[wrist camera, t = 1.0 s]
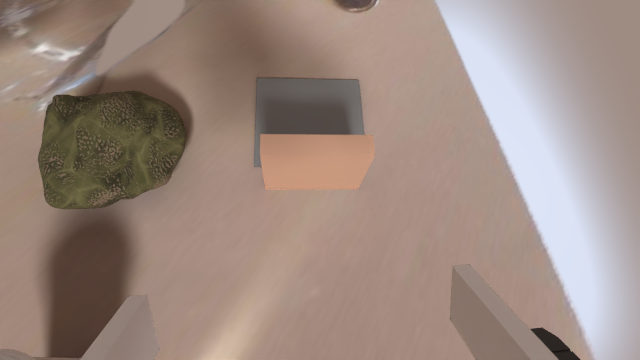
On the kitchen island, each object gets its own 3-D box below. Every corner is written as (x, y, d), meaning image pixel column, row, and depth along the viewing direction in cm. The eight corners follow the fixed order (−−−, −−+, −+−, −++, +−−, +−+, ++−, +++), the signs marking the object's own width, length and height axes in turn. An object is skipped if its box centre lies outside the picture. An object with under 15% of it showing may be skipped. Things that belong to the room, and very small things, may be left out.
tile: (357, 188, 46) (375, 154, 37) (265, 189, 45) (259, 154, 36) (356, 171, 47) (372, 134, 38) (265, 172, 46) (260, 133, 37)
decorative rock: (180, 222, 43) (150, 193, 33) (43, 215, 41) (-26, 183, 32) (200, 117, 48) (179, 68, 39) (80, 109, 47) (30, 56, 38)
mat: (366, 166, 47) (367, 165, 47) (254, 166, 46) (254, 165, 46) (358, 81, 53) (358, 80, 52) (257, 79, 51) (257, 77, 51)
